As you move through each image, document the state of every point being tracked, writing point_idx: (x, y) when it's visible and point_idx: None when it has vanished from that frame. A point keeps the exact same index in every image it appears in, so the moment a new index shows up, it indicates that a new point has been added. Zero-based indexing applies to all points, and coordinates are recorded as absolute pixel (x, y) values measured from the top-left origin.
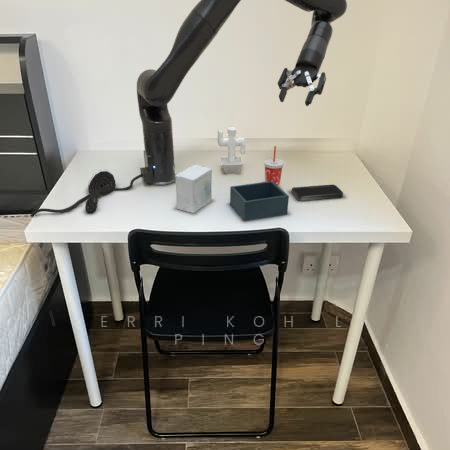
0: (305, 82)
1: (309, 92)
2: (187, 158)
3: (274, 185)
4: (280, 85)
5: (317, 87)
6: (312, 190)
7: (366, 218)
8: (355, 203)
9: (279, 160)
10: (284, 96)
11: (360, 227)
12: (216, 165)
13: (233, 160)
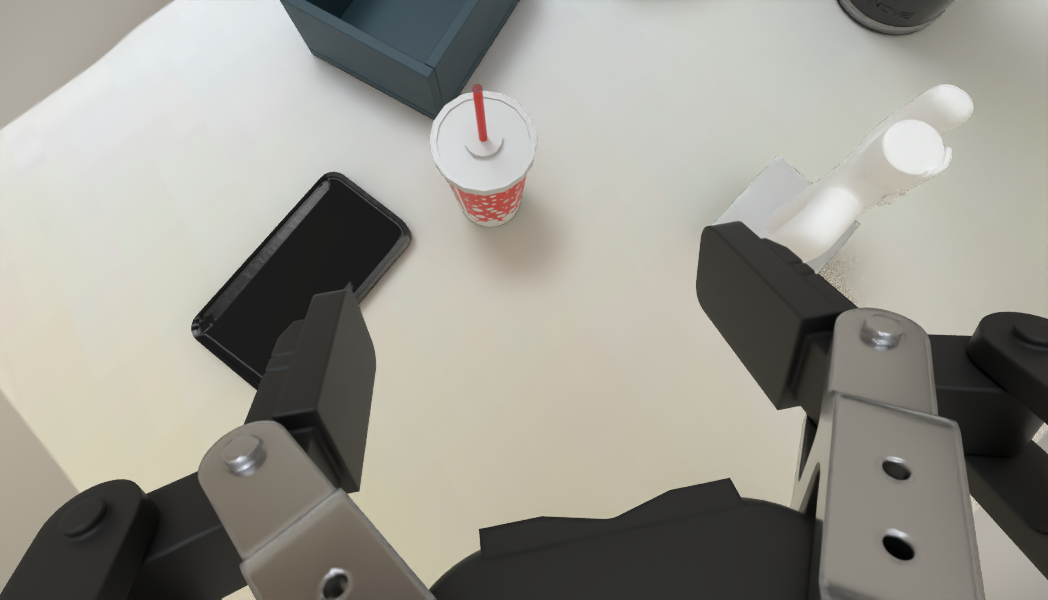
0: (467, 559)
1: (301, 394)
2: (1025, 230)
3: (389, 45)
4: (963, 350)
5: (115, 526)
6: (323, 271)
7: (40, 217)
8: (129, 314)
9: (478, 184)
10: (733, 323)
11: (35, 136)
12: (862, 253)
13: (771, 216)
